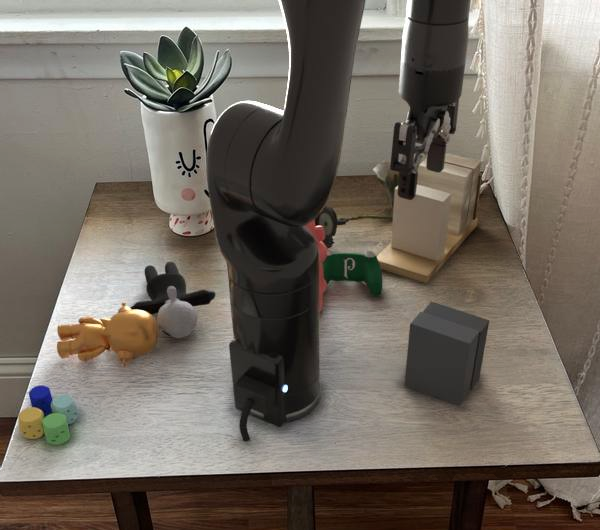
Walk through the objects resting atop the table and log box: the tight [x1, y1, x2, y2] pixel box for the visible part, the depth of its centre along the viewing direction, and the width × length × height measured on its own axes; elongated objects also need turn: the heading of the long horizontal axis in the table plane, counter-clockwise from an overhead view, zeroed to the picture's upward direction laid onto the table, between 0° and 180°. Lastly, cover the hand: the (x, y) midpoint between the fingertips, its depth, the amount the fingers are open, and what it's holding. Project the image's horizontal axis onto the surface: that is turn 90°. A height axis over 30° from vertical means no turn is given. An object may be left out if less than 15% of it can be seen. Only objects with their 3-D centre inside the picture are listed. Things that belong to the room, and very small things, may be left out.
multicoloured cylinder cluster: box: [17, 384, 80, 446], centre depth 90 cm, size 8×3×6 cm
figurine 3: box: [305, 219, 328, 313], centre depth 101 cm, size 5×5×15 cm
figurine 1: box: [56, 301, 160, 368], centre depth 98 cm, size 8×6×12 cm
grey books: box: [404, 300, 490, 407], centre depth 92 cm, size 6×7×9 cm
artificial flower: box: [315, 160, 406, 249], centre depth 120 cm, size 9×22×10 cm, turn 127°
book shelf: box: [376, 152, 483, 284], centre depth 113 cm, size 17×8×10 cm, turn 148°
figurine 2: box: [129, 261, 216, 339], centre depth 104 cm, size 11×6×15 cm
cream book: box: [390, 185, 451, 261], centre depth 110 cm, size 2×7×9 cm, turn 58°
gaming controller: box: [322, 249, 383, 297], centre depth 109 cm, size 9×4×6 cm
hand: (420, 183), depth 107 cm, fingers open, 8 cm apart
